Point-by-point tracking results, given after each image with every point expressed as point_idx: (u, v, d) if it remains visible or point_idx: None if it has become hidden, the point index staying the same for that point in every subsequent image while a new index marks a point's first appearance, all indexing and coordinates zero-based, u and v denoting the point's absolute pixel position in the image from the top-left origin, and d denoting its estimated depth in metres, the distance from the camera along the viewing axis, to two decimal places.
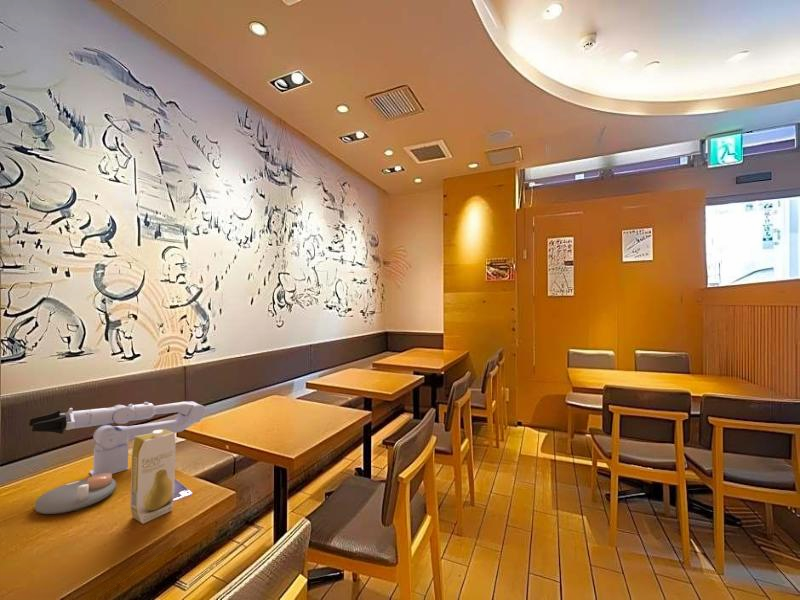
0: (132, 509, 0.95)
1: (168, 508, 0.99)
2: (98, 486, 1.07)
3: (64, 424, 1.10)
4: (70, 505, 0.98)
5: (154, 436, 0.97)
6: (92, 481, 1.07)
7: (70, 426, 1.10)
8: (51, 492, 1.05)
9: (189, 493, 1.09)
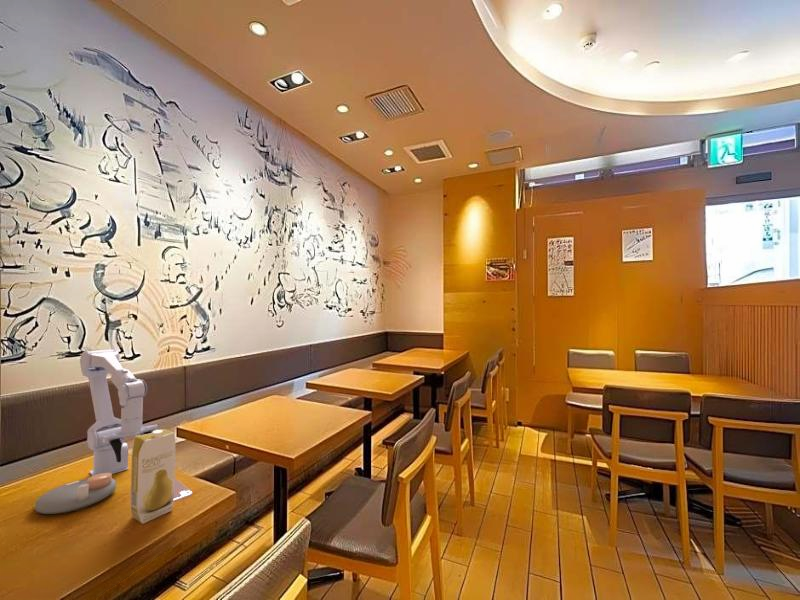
0: (132, 509, 0.95)
1: (168, 508, 0.99)
2: (98, 486, 1.07)
3: None
4: (70, 505, 0.98)
5: (154, 436, 0.97)
6: (92, 481, 1.07)
7: None
8: (51, 492, 1.05)
9: (189, 493, 1.09)
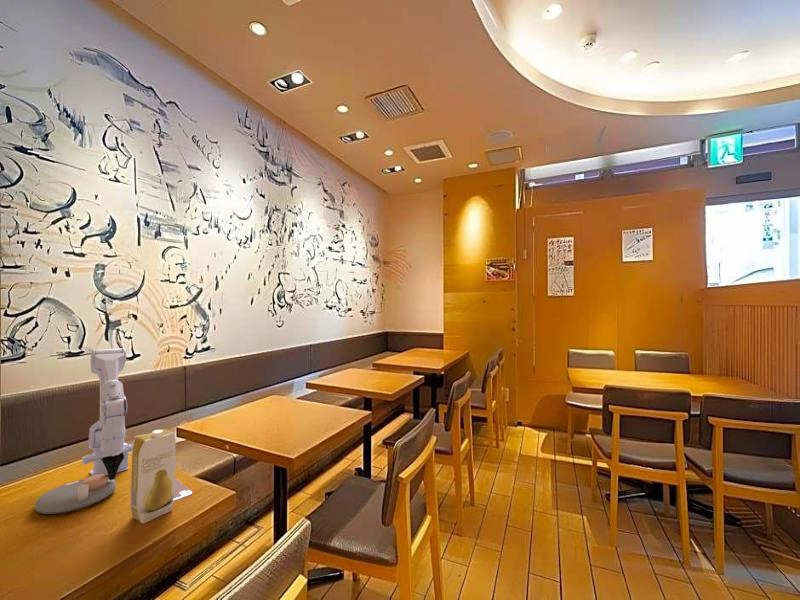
0: (132, 509, 0.95)
1: (168, 508, 0.99)
2: (94, 488, 1.06)
3: None
4: (70, 505, 0.98)
5: (154, 436, 0.97)
6: (88, 482, 1.06)
7: None
8: (51, 492, 1.05)
9: (189, 493, 1.09)
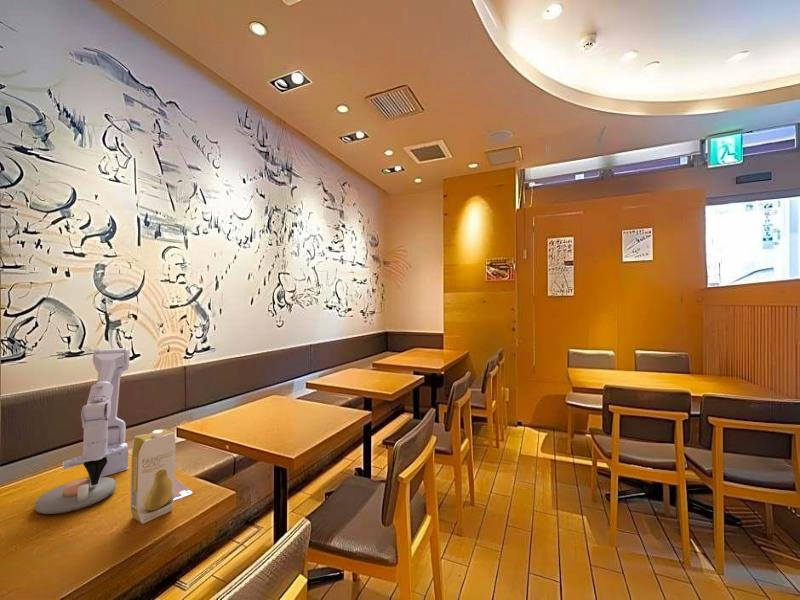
0: (132, 509, 0.95)
1: (168, 508, 0.99)
2: (75, 494, 1.03)
3: None
4: (70, 505, 0.98)
5: (154, 436, 0.97)
6: (69, 488, 1.02)
7: None
8: (51, 492, 1.05)
9: (189, 493, 1.09)
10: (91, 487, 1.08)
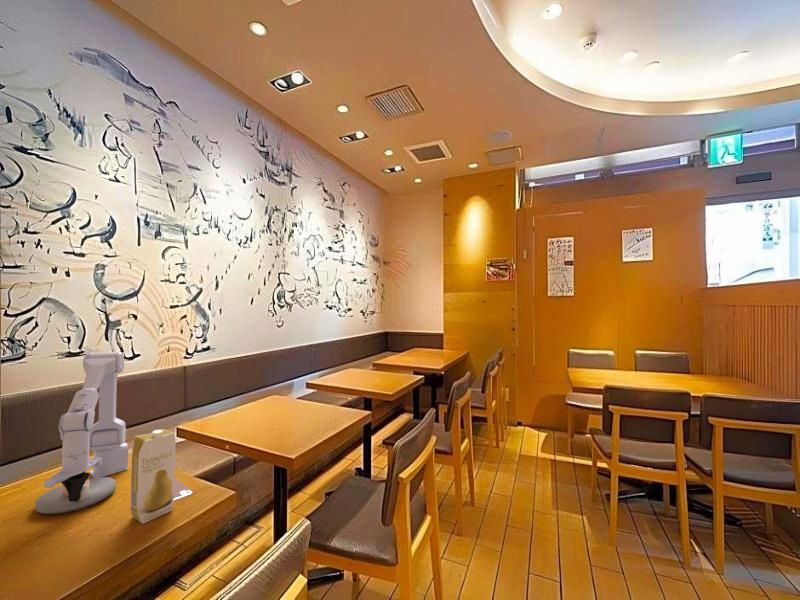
0: (132, 509, 0.95)
1: (168, 508, 0.99)
2: None
3: (66, 480, 0.97)
4: (71, 505, 0.98)
5: (154, 436, 0.97)
6: None
7: (48, 484, 0.92)
8: (51, 492, 1.05)
9: (189, 493, 1.09)
10: (91, 487, 1.08)
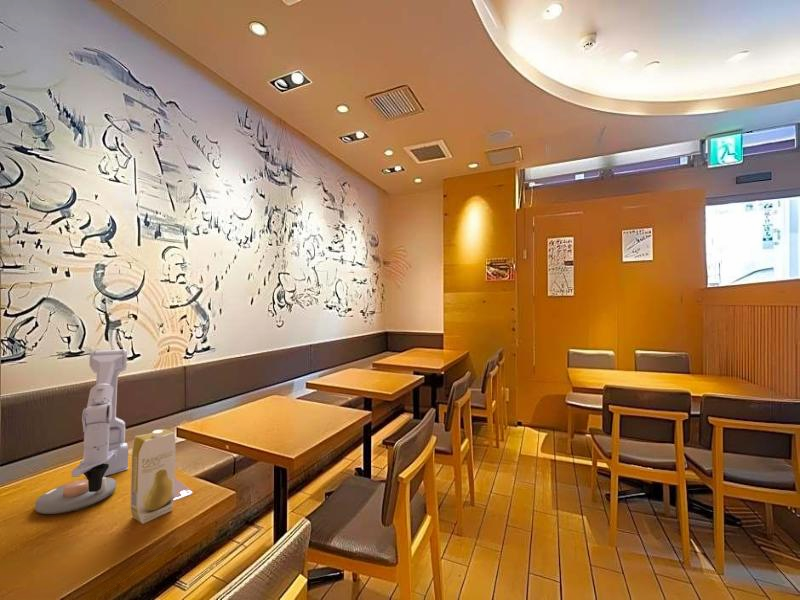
0: (132, 509, 0.95)
1: (168, 508, 0.99)
2: (84, 491, 1.04)
3: (89, 470, 1.02)
4: (96, 497, 1.02)
5: (154, 436, 0.97)
6: (76, 487, 1.03)
7: (76, 473, 0.97)
8: (41, 500, 1.00)
9: (189, 493, 1.09)
10: None
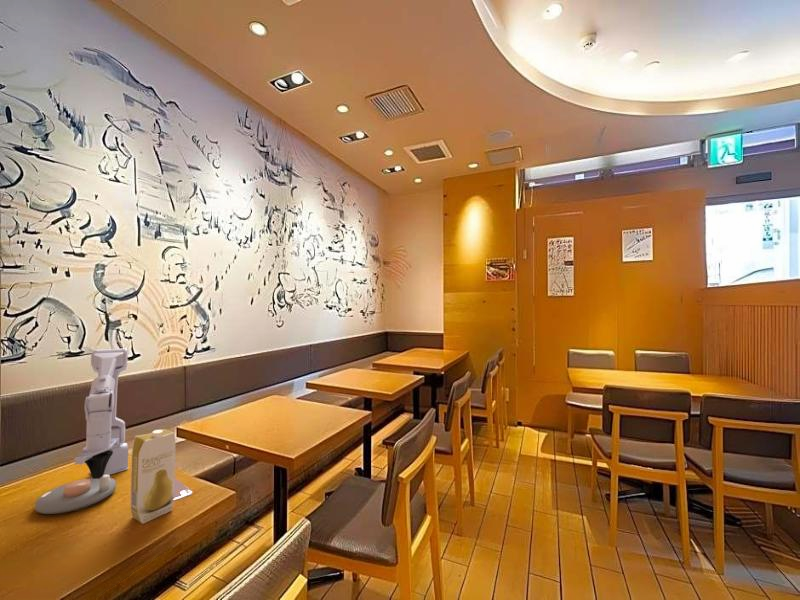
0: (132, 509, 0.95)
1: (168, 508, 0.99)
2: (86, 490, 1.05)
3: (90, 458, 1.02)
4: (102, 494, 1.04)
5: (154, 436, 0.97)
6: (79, 486, 1.03)
7: (79, 461, 0.98)
8: (41, 503, 0.99)
9: (189, 493, 1.09)
10: None
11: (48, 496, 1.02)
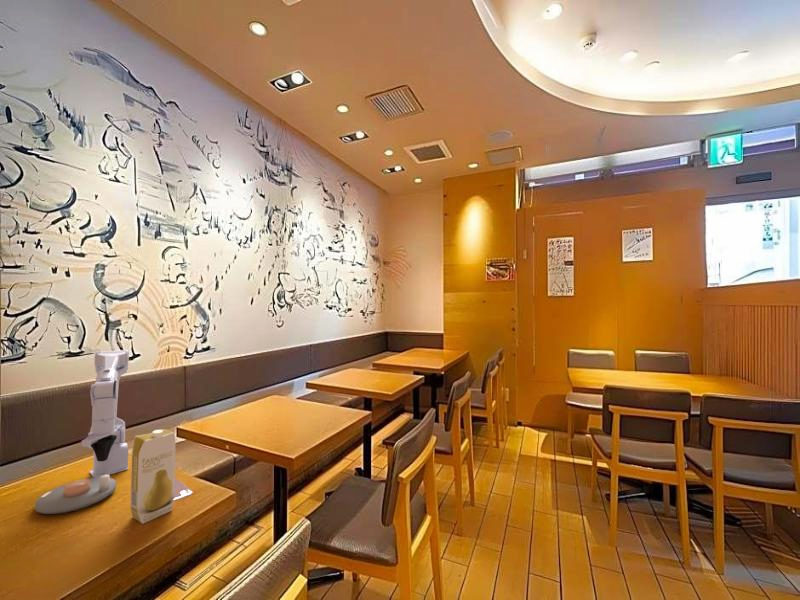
0: (132, 509, 0.95)
1: (168, 508, 0.99)
2: (86, 490, 1.05)
3: (95, 442, 1.09)
4: (102, 494, 1.04)
5: (154, 436, 0.97)
6: (79, 486, 1.03)
7: (86, 443, 1.04)
8: (41, 503, 0.99)
9: (189, 493, 1.09)
10: None
11: (48, 496, 1.02)
